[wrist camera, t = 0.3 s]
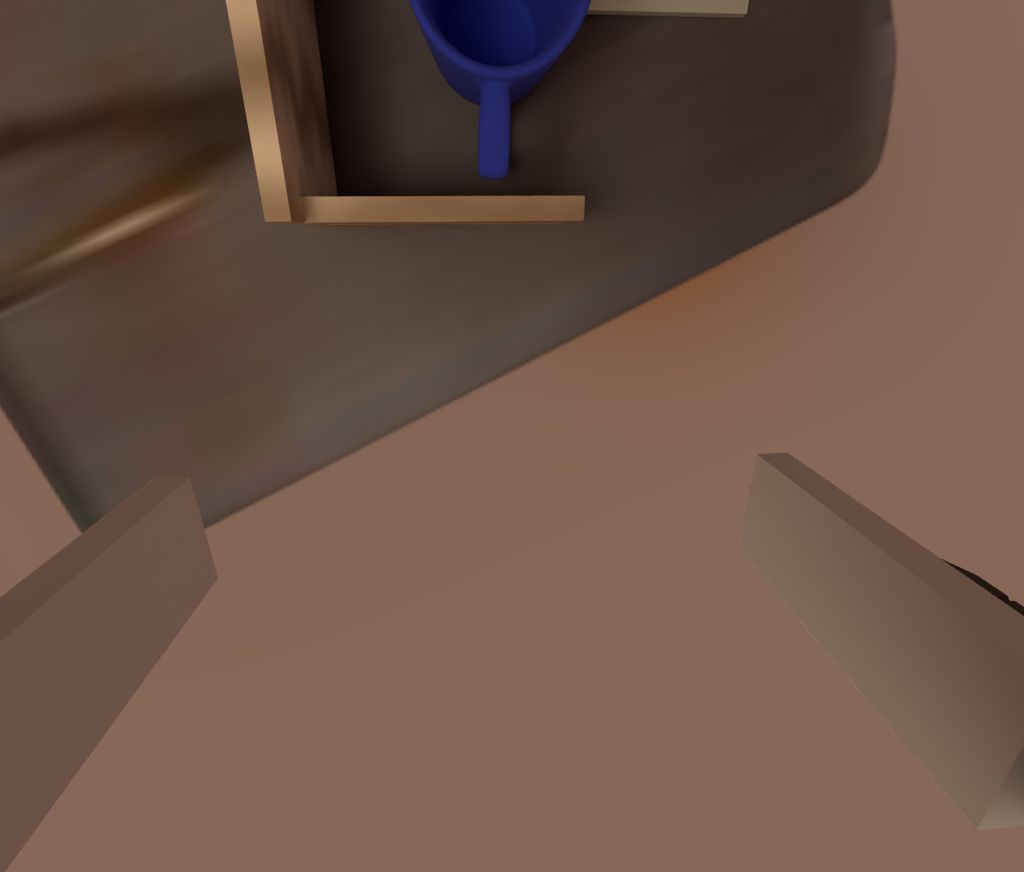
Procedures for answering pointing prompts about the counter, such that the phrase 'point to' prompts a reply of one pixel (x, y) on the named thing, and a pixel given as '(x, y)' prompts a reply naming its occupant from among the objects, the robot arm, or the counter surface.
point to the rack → (306, 138)
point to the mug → (497, 57)
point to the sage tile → (671, 8)
